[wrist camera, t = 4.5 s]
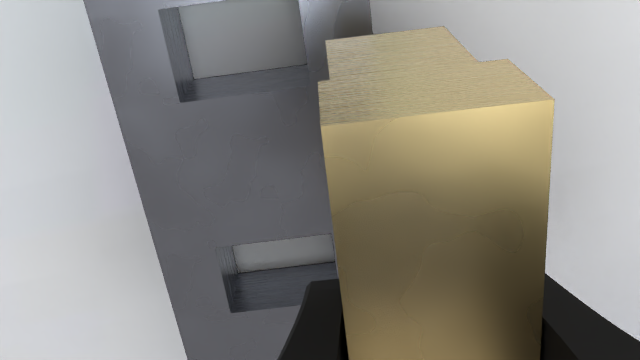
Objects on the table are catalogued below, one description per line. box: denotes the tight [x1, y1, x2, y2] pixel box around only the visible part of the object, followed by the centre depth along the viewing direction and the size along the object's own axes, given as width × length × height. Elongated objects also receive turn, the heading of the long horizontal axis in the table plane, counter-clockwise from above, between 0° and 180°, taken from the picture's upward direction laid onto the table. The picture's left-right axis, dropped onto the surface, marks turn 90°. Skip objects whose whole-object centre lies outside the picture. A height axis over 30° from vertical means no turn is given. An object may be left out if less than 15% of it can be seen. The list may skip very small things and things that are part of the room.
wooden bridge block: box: [318, 26, 554, 360], centre depth 13 cm, size 10×3×6 cm, turn 7°
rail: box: [83, 0, 373, 360], centre depth 21 cm, size 24×8×2 cm, turn 7°
